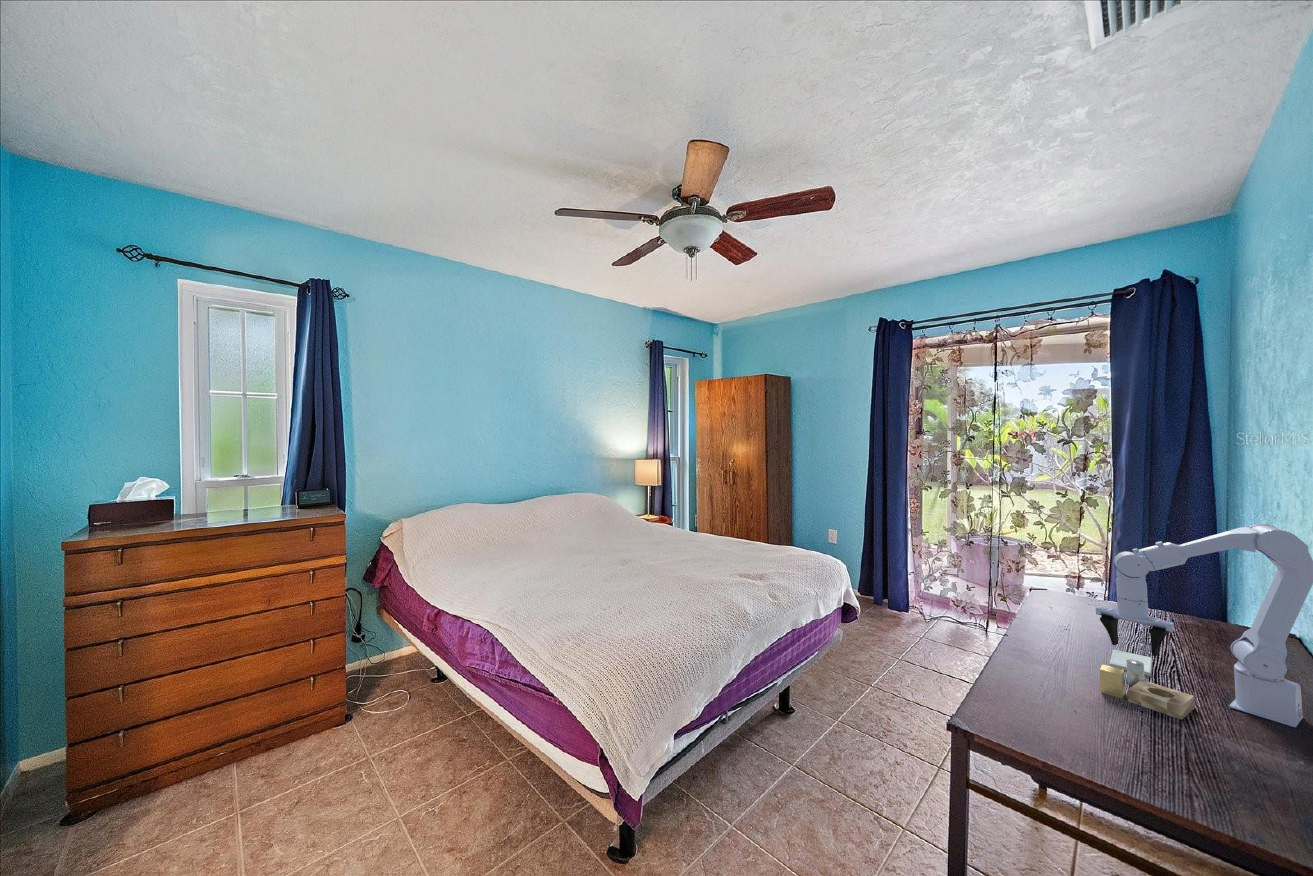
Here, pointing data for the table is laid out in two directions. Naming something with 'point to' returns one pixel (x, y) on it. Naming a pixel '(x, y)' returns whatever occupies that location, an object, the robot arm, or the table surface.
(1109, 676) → the square bit
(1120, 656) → the hard drive
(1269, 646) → the robot arm
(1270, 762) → the table surface
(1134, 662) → the round peg
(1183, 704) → the socket block
